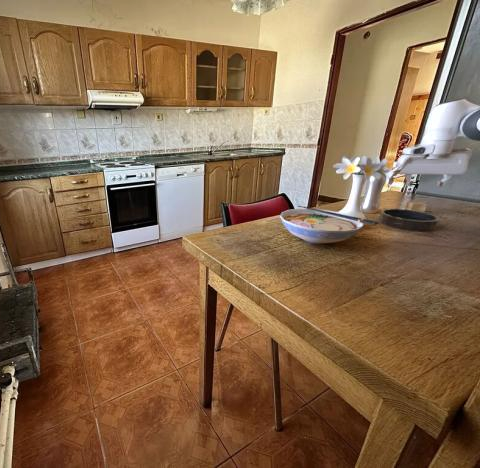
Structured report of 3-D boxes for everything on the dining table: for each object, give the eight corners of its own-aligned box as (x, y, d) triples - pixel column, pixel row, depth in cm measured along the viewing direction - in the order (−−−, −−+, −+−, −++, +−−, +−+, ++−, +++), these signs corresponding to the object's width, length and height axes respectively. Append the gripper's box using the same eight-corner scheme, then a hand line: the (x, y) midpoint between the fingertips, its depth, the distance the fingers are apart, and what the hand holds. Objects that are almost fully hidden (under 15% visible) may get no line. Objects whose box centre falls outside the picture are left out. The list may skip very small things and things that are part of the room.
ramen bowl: (260, 234, 89) (262, 211, 86) (303, 223, 99) (307, 202, 96) (331, 263, 68) (337, 234, 65) (377, 245, 78) (385, 220, 75)
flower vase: (380, 239, 82) (404, 158, 73) (316, 227, 94) (330, 156, 85) (384, 228, 91) (406, 155, 82) (325, 218, 103) (339, 153, 94)
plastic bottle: (362, 214, 106) (375, 165, 99) (355, 210, 112) (366, 163, 105) (380, 215, 105) (394, 165, 97) (372, 211, 111) (385, 163, 104)
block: (417, 212, 105) (421, 202, 104) (423, 215, 102) (427, 204, 100) (404, 211, 107) (407, 201, 105) (408, 214, 103) (412, 203, 102)
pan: (422, 220, 97) (425, 210, 96) (445, 234, 84) (450, 223, 83) (372, 217, 103) (375, 207, 102) (387, 229, 90) (390, 219, 88)
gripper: (467, 147, 94) (454, 185, 99) (398, 149, 102) (389, 184, 106) (479, 148, 89) (465, 188, 93) (404, 149, 96) (395, 186, 101)
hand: (424, 185), depth 100 cm, fingers open, 8 cm apart
